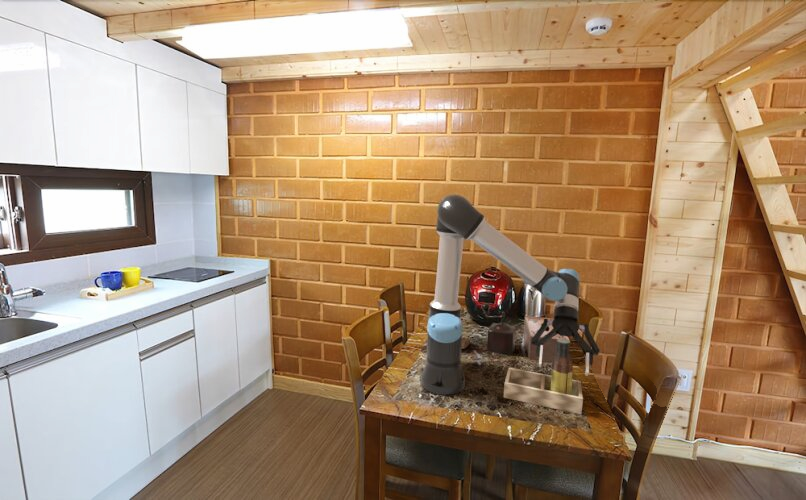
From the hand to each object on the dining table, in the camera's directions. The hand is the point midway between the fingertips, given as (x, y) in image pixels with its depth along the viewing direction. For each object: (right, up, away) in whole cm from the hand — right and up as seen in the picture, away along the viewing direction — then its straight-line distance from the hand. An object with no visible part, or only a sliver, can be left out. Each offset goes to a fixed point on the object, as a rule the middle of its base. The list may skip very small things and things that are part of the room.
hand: (563, 370), depth 117 cm
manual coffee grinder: (-10, -5, +44) cm, 46 cm away
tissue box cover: (+10, -5, +44) cm, 46 cm away
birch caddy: (-5, -10, +6) cm, 13 cm away
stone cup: (-30, -4, +44) cm, 53 cm away
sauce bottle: (+1, -11, +4) cm, 11 cm away
